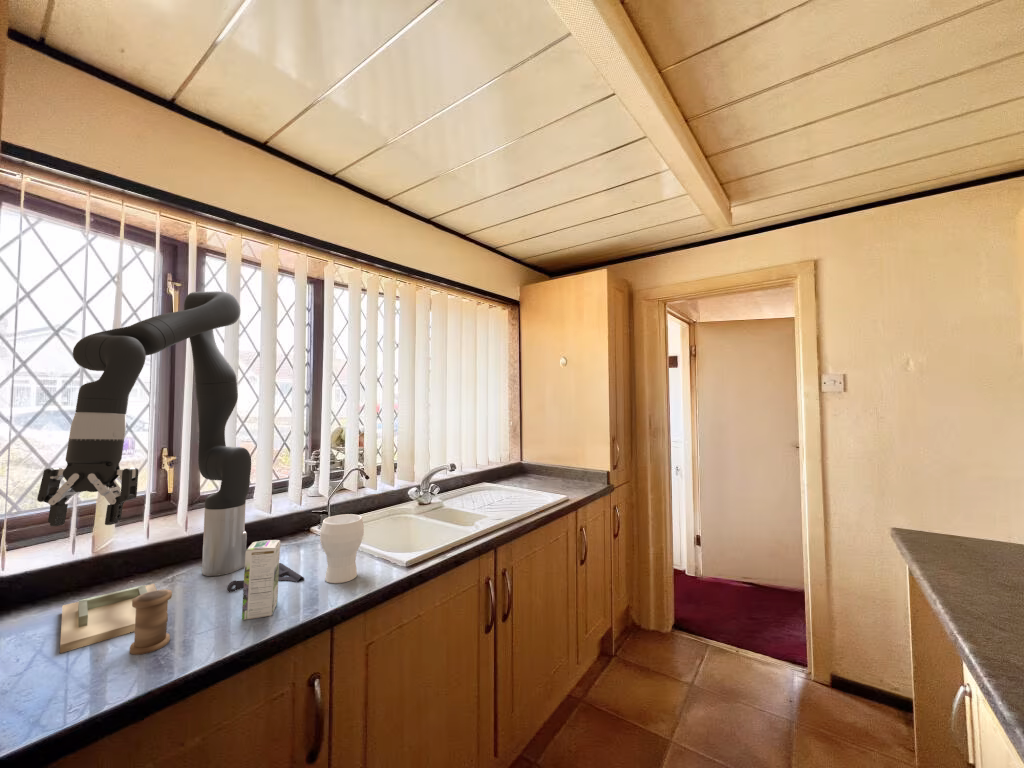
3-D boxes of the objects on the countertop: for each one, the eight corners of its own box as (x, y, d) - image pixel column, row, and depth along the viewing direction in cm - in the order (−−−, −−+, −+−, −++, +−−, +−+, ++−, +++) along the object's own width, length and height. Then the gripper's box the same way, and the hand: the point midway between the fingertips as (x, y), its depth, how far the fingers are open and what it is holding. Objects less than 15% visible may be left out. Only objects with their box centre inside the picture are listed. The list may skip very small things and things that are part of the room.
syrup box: (248, 608, 91) (250, 541, 91) (278, 603, 93) (280, 538, 93) (241, 621, 85) (243, 550, 86) (273, 616, 87) (275, 546, 88)
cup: (309, 582, 103) (311, 522, 104) (338, 567, 114) (340, 512, 114) (344, 588, 100) (345, 526, 101) (371, 571, 110) (372, 515, 111)
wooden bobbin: (167, 633, 80) (169, 586, 81) (171, 645, 77) (174, 596, 77) (128, 645, 76) (130, 596, 77) (131, 658, 72) (133, 606, 73)
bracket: (218, 585, 103) (219, 574, 103) (282, 568, 114) (282, 557, 114) (237, 604, 94) (237, 592, 94) (304, 583, 105) (304, 572, 105)
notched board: (153, 589, 99) (154, 575, 99) (167, 621, 85) (168, 604, 85) (62, 612, 88) (63, 596, 88) (59, 653, 74) (60, 633, 74)
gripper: (153, 438, 83) (142, 520, 81) (70, 436, 81) (56, 521, 79) (126, 437, 76) (113, 528, 74) (34, 436, 73) (18, 530, 71)
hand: (84, 524), depth 76 cm, fingers open, 8 cm apart
